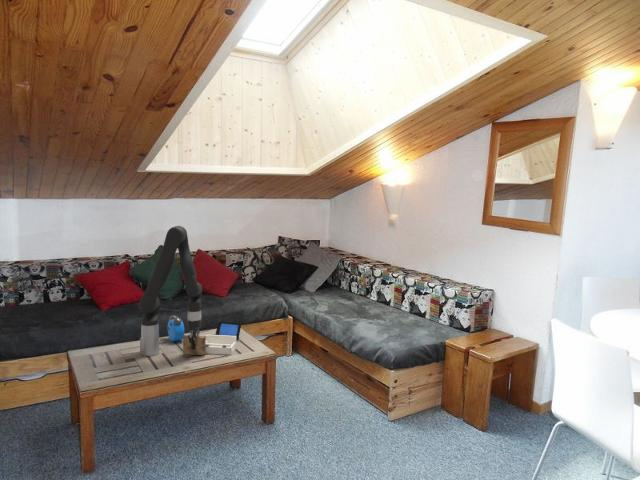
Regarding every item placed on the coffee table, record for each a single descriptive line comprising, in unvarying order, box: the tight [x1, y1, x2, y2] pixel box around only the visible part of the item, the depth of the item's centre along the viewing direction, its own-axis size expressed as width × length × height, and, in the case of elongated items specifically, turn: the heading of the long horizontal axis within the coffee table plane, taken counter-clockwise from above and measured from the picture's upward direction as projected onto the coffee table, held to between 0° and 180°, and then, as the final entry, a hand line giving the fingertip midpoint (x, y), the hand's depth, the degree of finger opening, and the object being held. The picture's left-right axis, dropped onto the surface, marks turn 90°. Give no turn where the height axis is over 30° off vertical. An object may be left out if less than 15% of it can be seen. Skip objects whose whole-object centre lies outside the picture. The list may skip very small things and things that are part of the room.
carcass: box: [205, 334, 237, 356], centre depth 275 cm, size 18×12×7 cm
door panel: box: [182, 334, 206, 356], centre depth 267 cm, size 12×2×10 cm, turn 86°
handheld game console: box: [214, 321, 242, 342], centre depth 294 cm, size 16×13×9 cm
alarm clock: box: [167, 315, 185, 343], centre depth 290 cm, size 13×6×15 cm, turn 37°
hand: (194, 348), depth 267 cm, fingers closed on door panel, 2 cm apart
